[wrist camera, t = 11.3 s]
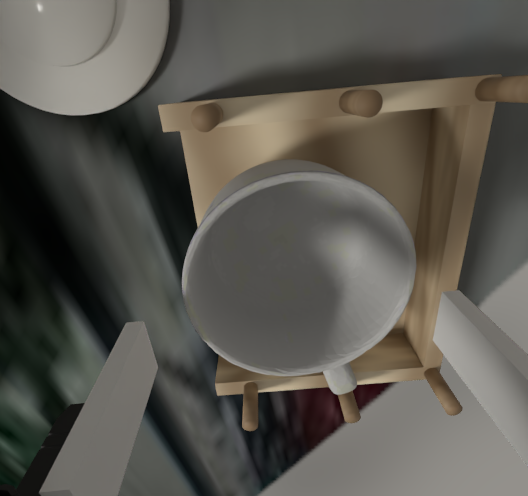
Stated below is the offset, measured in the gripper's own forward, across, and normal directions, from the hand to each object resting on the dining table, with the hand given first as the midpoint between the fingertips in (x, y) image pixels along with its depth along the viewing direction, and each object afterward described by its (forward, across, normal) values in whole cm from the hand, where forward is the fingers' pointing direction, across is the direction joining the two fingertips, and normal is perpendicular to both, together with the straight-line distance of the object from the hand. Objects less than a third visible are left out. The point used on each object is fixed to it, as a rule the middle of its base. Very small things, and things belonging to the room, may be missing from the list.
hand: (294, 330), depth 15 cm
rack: (+10, +3, 0) cm, 10 cm away
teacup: (+9, +1, 0) cm, 9 cm away
